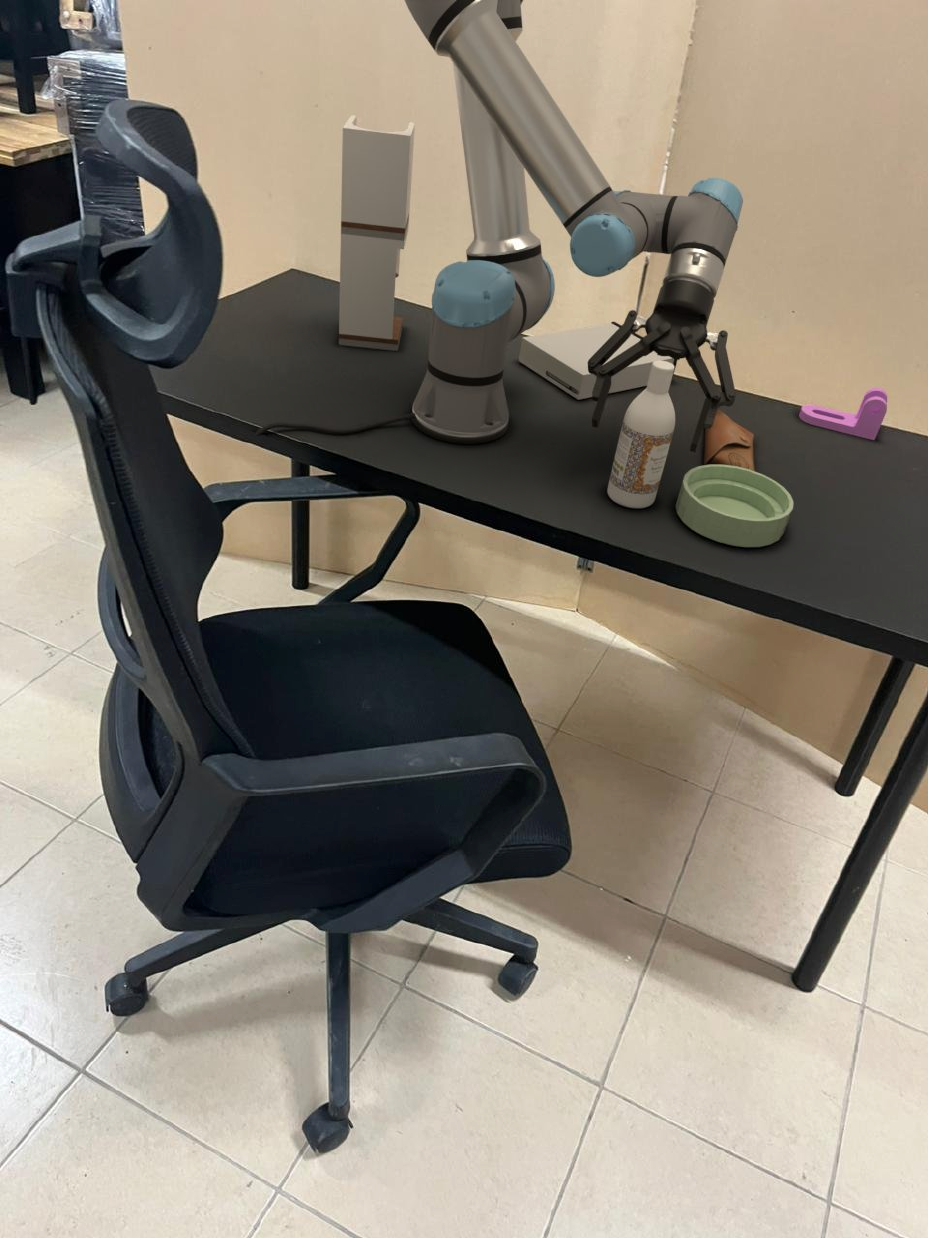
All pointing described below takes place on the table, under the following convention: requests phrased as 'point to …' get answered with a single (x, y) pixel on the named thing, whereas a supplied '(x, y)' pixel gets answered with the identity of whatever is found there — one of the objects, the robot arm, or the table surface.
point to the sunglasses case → (728, 444)
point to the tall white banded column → (373, 232)
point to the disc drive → (583, 359)
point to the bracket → (851, 416)
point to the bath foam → (644, 442)
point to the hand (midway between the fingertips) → (643, 435)
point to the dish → (734, 505)
